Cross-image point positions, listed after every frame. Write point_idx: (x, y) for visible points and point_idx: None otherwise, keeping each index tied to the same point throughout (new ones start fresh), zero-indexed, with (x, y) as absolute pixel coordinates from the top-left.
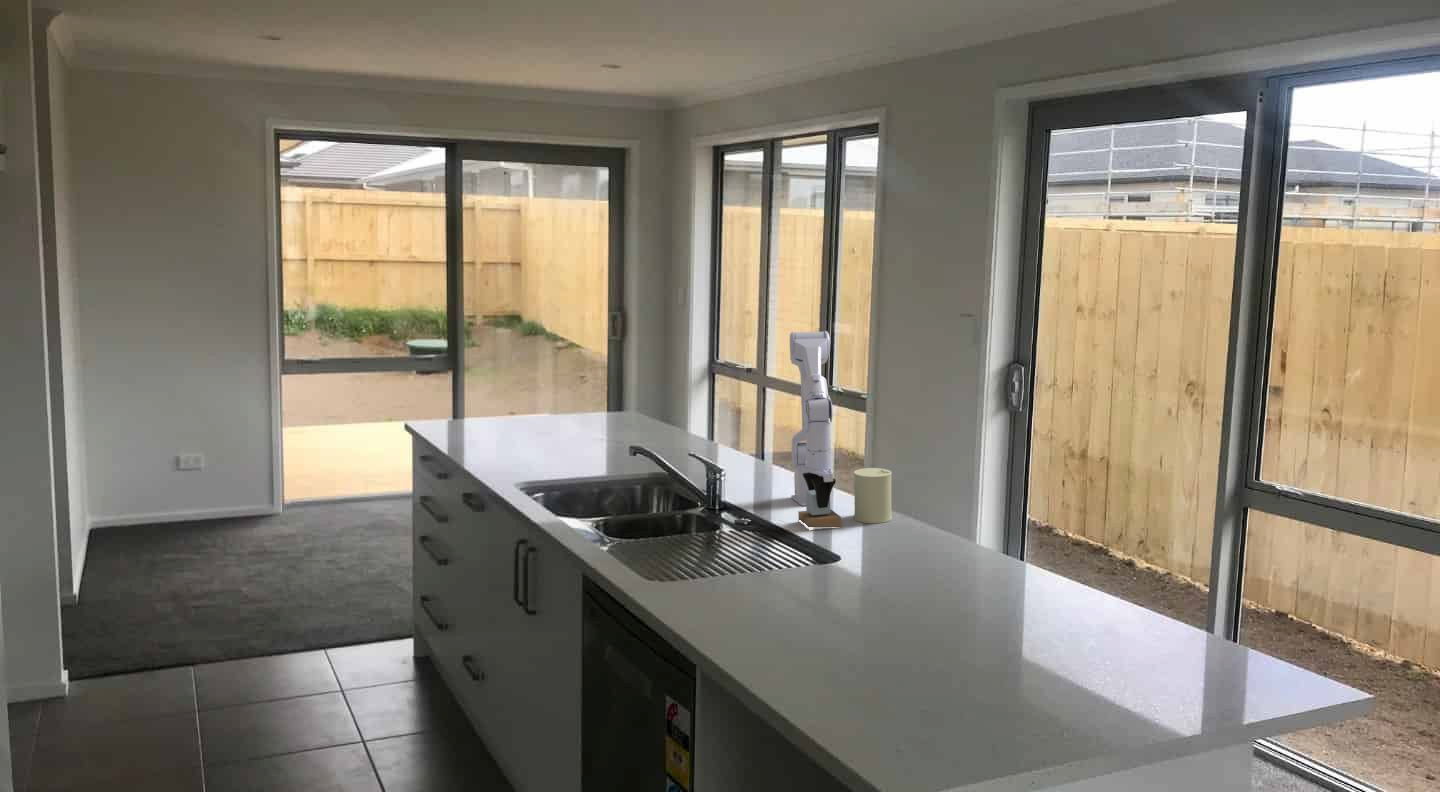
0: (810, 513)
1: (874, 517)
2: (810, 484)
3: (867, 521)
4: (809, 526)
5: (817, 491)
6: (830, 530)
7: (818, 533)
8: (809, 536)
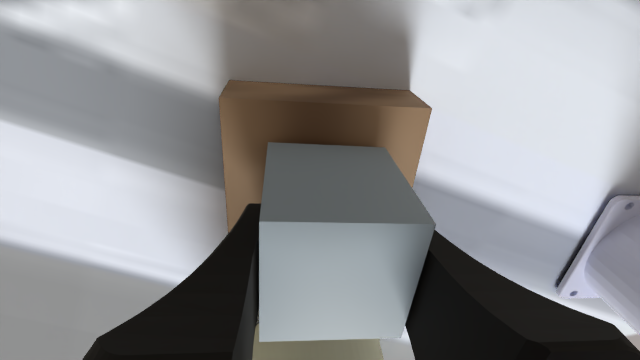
0: (306, 144)
1: None
2: (449, 297)
3: None
4: (225, 88)
5: (182, 283)
6: (203, 177)
7: (164, 107)
8: (110, 36)
